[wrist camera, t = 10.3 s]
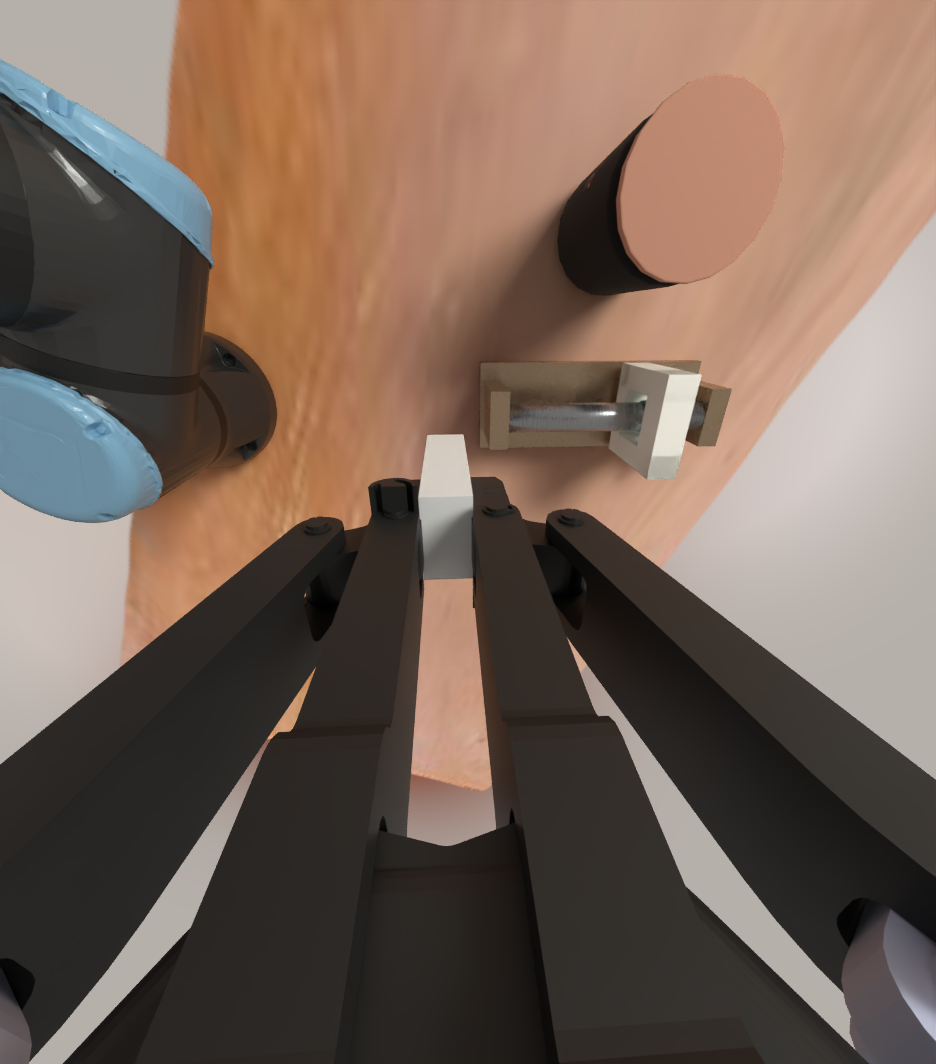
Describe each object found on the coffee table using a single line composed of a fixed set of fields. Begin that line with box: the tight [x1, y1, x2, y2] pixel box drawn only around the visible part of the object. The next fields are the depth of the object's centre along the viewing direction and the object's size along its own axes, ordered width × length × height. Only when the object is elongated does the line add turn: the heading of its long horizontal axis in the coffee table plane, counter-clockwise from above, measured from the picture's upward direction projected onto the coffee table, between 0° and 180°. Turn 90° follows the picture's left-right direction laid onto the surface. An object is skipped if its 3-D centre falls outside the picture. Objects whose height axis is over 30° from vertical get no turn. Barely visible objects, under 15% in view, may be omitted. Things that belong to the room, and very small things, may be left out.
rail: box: [479, 360, 732, 450], centre depth 46 cm, size 26×10×9 cm, turn 90°
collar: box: [609, 362, 702, 479], centre depth 44 cm, size 3×10×11 cm, turn 0°
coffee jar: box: [558, 74, 785, 295], centre depth 34 cm, size 11×11×18 cm
